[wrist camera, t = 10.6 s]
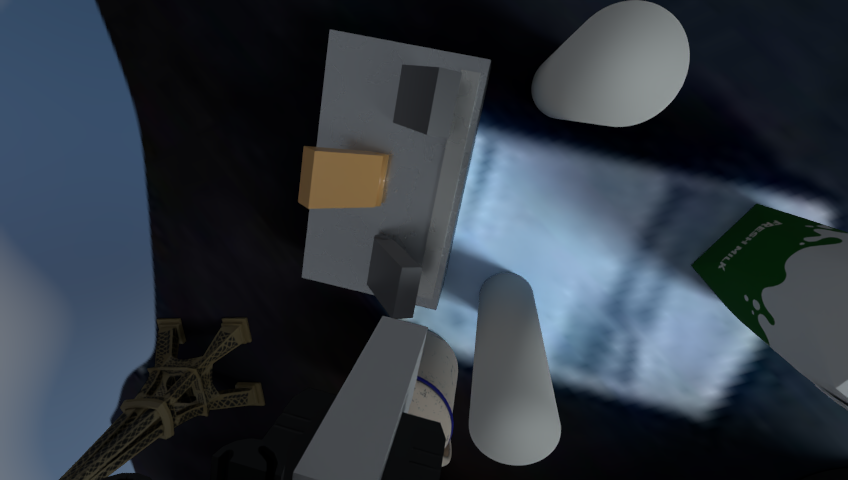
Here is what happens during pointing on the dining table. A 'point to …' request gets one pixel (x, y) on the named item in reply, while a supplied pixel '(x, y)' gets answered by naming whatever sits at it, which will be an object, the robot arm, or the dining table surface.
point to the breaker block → (392, 162)
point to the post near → (615, 67)
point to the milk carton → (787, 290)
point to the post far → (511, 376)
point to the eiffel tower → (168, 398)
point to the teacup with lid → (436, 387)
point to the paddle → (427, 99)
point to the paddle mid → (341, 178)
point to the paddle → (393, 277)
